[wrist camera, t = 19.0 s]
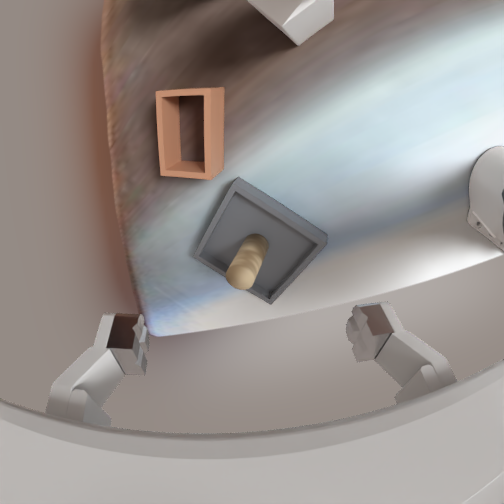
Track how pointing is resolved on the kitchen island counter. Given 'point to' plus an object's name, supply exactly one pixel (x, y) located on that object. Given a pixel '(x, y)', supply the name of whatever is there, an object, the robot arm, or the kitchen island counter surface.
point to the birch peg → (247, 262)
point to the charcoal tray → (269, 226)
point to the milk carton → (297, 16)
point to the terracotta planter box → (171, 133)
